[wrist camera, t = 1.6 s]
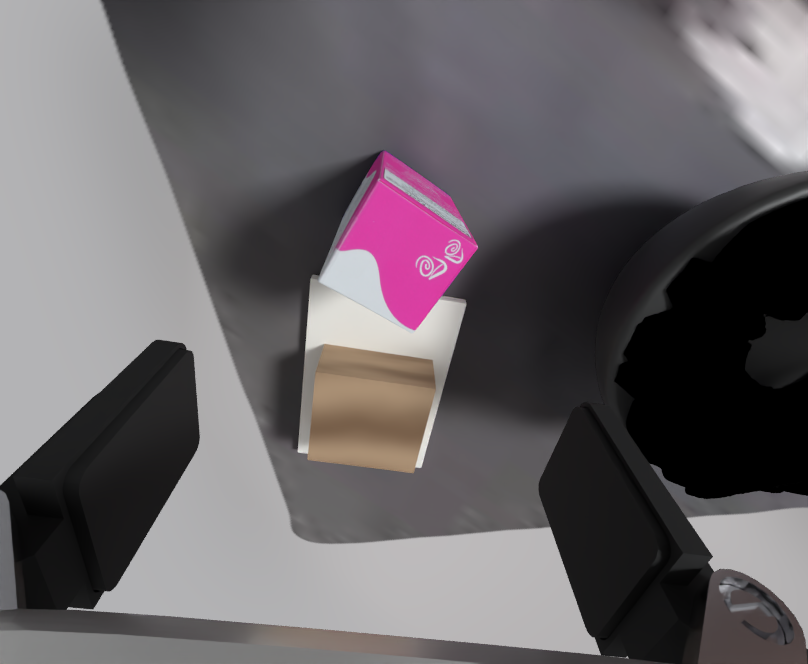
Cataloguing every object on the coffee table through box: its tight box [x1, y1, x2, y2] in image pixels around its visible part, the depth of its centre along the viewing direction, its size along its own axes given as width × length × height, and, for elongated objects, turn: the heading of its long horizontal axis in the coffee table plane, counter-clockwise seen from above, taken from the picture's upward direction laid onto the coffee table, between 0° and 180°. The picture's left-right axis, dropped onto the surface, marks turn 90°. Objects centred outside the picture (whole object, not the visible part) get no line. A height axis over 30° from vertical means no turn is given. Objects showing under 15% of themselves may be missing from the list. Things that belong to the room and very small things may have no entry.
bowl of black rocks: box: [595, 171, 808, 499], centre depth 24 cm, size 20×20×19 cm
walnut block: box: [308, 344, 436, 473], centre depth 35 cm, size 9×9×4 cm
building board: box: [298, 275, 467, 468], centre depth 36 cm, size 18×12×1 cm, turn 170°
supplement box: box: [318, 150, 478, 333], centre depth 24 cm, size 6×6×12 cm
